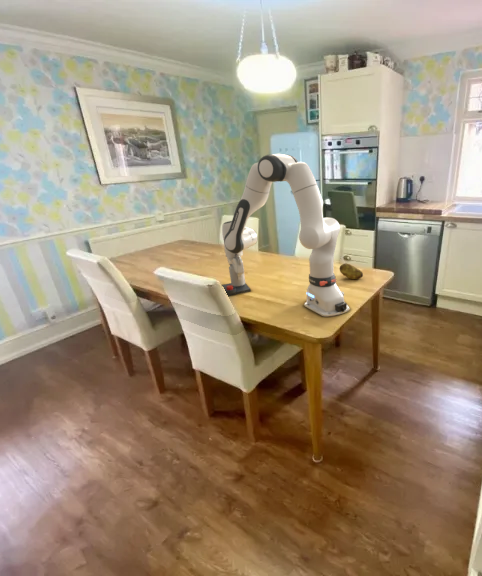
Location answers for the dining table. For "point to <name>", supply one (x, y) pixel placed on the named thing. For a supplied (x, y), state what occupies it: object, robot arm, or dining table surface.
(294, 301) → the dining table surface
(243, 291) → the scale
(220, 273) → the dining table surface
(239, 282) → the can
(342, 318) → the dining table surface
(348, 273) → the potato
